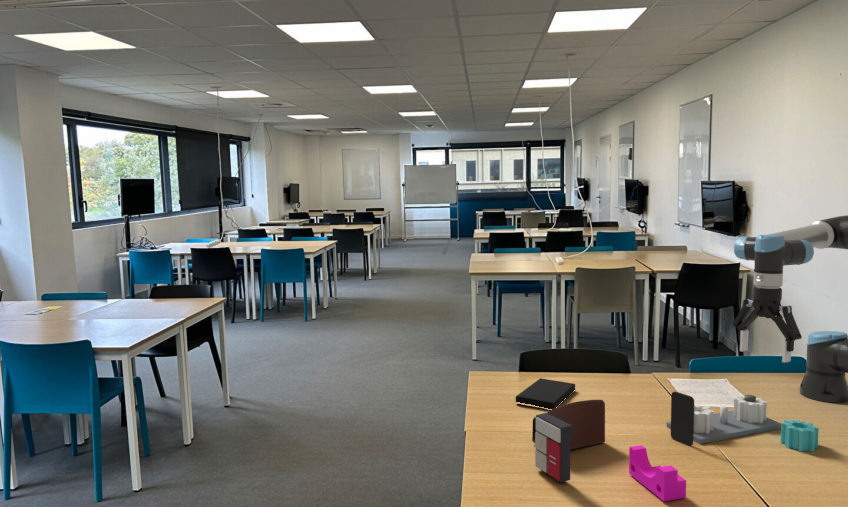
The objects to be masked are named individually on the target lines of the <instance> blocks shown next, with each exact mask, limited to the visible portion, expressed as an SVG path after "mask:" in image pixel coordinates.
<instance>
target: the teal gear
mask: <svg viewBox="0 0 848 507" xmlns="http://www.w3.org/2000/svg"><path fill="white" fill-rule="evenodd" d="M780 423H781V428H780V444H784V445H785V448H788V449H793V450H798V452H803V451H805V452H806V451H810V452H815V451H816V449H818V447H819V427H818V426H815V425H814V423H812V422H806V421H801V420H800V419H795V420H792V419H791V420H789V419H784V422H780Z"/></svg>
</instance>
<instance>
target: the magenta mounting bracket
mask: <svg viewBox="0 0 848 507" xmlns="http://www.w3.org/2000/svg"><path fill="white" fill-rule="evenodd" d="M628 449H629V451H628V457H629V458H628V464H629V465H628V474H629V475H630V476H631V477H633V478H634V479H635V480H637V481H638V482H639V483H640V484H641V485H642V486H644V487H645V488H646V489H648V490H649V491H650V492H651V493H653V494H654V495H655V496H657V497H658V498H659V499H660V500H661V501H662V502H668V501H674V500H680V499H686V498H687V479H685V478H684V477H682V476H680V475H679V474H678V471H679V470H678V469H676V468H675V467H674V466H672V465H663V466H661V465H655V466H652V464H651V462H650V459H649V456H648V452H647V447H645V446H644V445H641V444H640V445H634V446H629V447H628Z"/></svg>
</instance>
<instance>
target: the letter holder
mask: <svg viewBox="0 0 848 507" xmlns="http://www.w3.org/2000/svg"><path fill="white" fill-rule="evenodd" d="M546 413H548V414H550V415H552V416H554V417H556V418H558V419H560V420H562V421H564V422H566V423H568V424H570V425H571V426H572V441H571V443H570V451H571V450H574V449H579V448H585V447H589V446H594V445H598V444H602V443H605V442H606V403H605V401H604V400H603V399H587V400H580V401H575V402H569V403H566V404H563V405H559V406H558V407H557V408H554V409H552V410H551V411H550V410H549V411H547V412H546ZM535 432H536V416H535V417H533V418H532V436H531V437H532V438H531V441H533V443H534V444H535Z"/></svg>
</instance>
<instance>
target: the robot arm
mask: <svg viewBox="0 0 848 507" xmlns="http://www.w3.org/2000/svg"><path fill="white" fill-rule="evenodd" d="M814 248H815V249H819V250H823V249H828V248H829V249H840V250H848V215H839V216H833V217H829V218H825V219H821V220H815V221H813V222H810V224H809V225H806V226H803V227H796V228H793V229H792V228H791V229H789V230H783V231H778V232H774V233H768V234H759V235H757V236H741V237H738V238H737V239H736V241H735V242H734V245H733V253H734V255H735V257H736V258H737V259H740V260H745V261H754V265H753V266H754V269H753V283H752V284H753V285H754V286H753V287H752V298H753V300H752V298H747V299H743V301H742V306H741V307H740V310H739V312H738V314H737V316H736V317H735V319H734V321H733V323H732V326H733V327H734V328H737V330H738V336H737V337H738V340H739V342H740V343H739V352H746V351H749V334H750V333H749V331H750V330H749V329H748V327H749V326H750V325H751V324H753V323H754V321H755V320H757V318H759V317H761V318H766V319H771V321H773V322H774V324H775V325H776V326H777V328H778V329H779V331H780V333H781V334H782V335H783V337H784V339H783V340H782V357H781V359H782V360H781V363H789V362H791V360H792V359H791V358H792V352H794V350H795V341H796V340H801V339H802V334H801V331H800V329H799V328H798V324H797V322H796V319H795V317H794V315H793V308H792V305H782V304H781V301H782V299H783V298H782V297H783V289H782V288H781V287H782V286H783V278H784V277H783V276H784V266H796V265H797V266H800V265H804V264H808V263H809V262H810V261H811V260H812V259H813V257H814V253H815V252H814V251H815V249H814ZM751 308H753V310H752V311H751V312H750V310H751ZM749 312H750V314H749V315H748V313H749ZM781 313H782V314H781ZM747 315H748V316H747ZM805 366H806V370H805V374H804V375H803V378H802V381H801V383H800V385H799V393H800V394H801V395H802V396H804V397H806V398H808V399H812V400H816V401H820V402H825V403H826V402H827V403H845V402H848V381H847V378H846V374H848V333H847V332H843V331H836V330H835V331H830V330H828V331H827V330H824V331H813V332H810V333H809V334H808V337H807V343H806V365H805Z"/></svg>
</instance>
